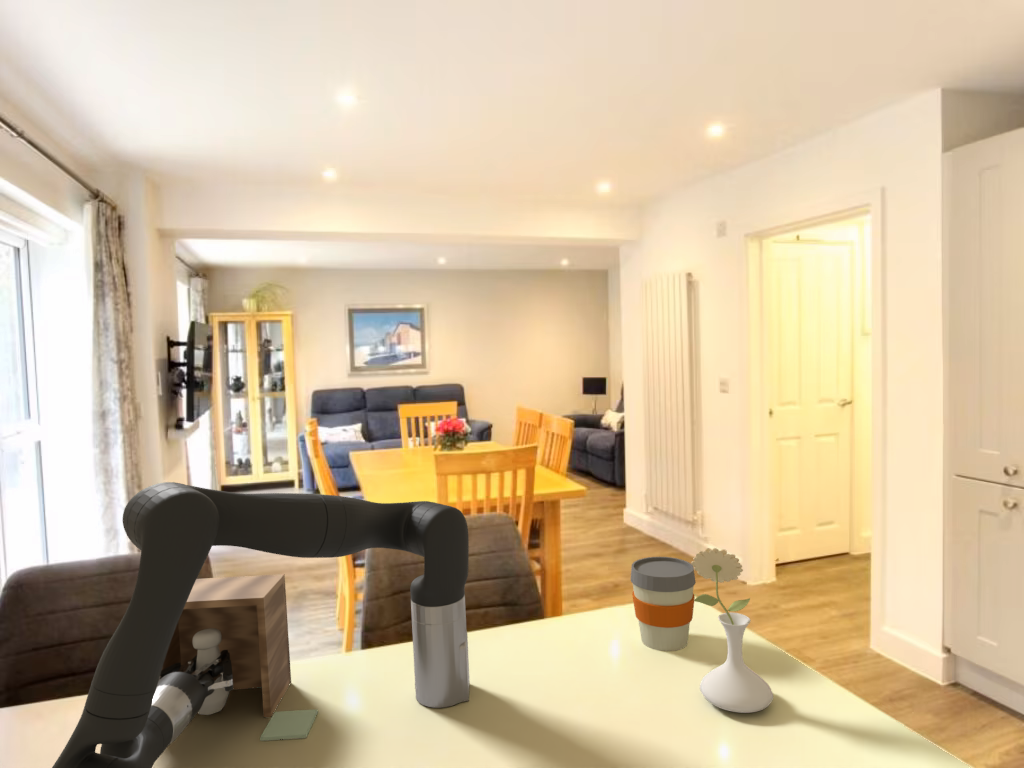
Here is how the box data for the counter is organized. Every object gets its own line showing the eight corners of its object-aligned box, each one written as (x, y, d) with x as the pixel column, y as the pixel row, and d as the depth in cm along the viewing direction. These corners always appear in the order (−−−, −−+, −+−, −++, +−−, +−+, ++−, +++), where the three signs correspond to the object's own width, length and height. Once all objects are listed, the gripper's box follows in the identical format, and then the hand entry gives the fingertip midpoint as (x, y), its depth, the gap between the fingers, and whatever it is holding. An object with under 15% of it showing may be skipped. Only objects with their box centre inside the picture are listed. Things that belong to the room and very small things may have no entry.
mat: (317, 712, 107) (317, 709, 107) (306, 738, 100) (305, 734, 100) (275, 715, 107) (275, 711, 107) (260, 740, 100) (260, 737, 100)
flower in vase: (784, 697, 106) (781, 548, 105) (756, 729, 98) (753, 568, 96) (709, 672, 115) (706, 535, 114) (678, 700, 107) (674, 551, 105)
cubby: (291, 682, 117) (284, 574, 116) (271, 717, 106) (263, 597, 105) (179, 689, 117) (171, 580, 116) (147, 724, 106) (138, 604, 105)
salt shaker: (215, 719, 103) (209, 640, 103) (183, 716, 105) (178, 638, 104) (237, 700, 109) (233, 624, 109) (207, 697, 110) (203, 623, 110)
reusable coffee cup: (708, 637, 129) (706, 563, 128) (678, 662, 119) (676, 582, 118) (651, 621, 137) (649, 552, 136) (620, 643, 128) (618, 569, 127)
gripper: (212, 683, 92) (256, 631, 109) (112, 689, 92) (172, 636, 109) (215, 734, 93) (258, 675, 110) (116, 740, 92) (174, 679, 109)
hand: (215, 656), depth 109 cm, fingers closed on salt shaker, 3 cm apart
